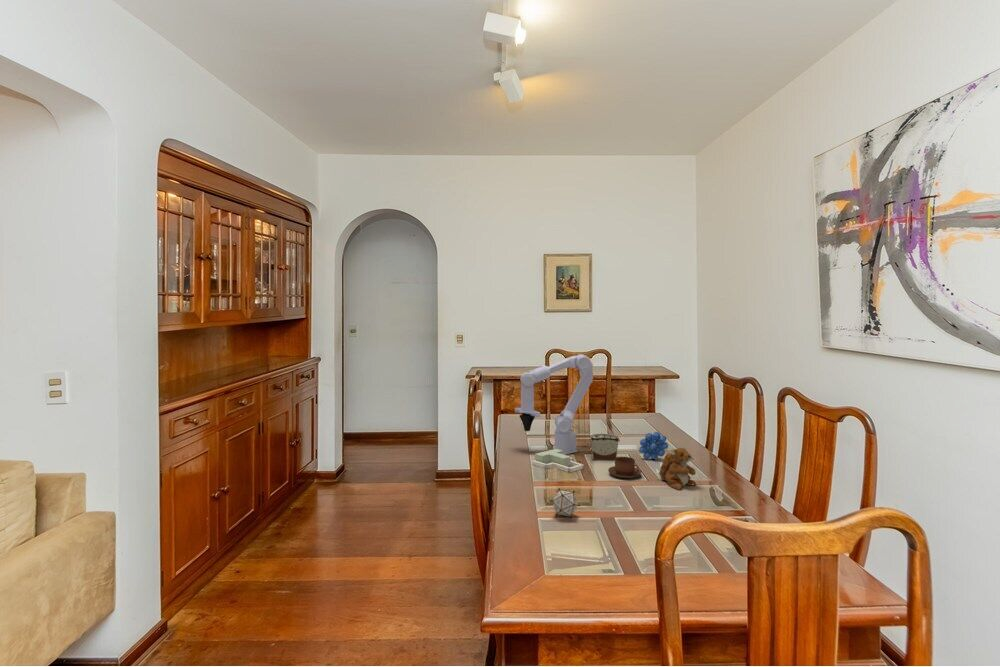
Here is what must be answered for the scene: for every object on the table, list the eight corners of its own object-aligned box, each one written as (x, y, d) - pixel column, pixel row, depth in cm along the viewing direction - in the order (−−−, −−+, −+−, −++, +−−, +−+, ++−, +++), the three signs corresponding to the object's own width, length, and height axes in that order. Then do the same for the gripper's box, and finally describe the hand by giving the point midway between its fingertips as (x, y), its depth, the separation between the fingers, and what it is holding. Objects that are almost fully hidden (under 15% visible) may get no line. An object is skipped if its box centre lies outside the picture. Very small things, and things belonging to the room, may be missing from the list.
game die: (559, 526, 155) (546, 495, 160) (584, 515, 156) (571, 485, 160) (558, 522, 147) (545, 490, 152) (585, 511, 148) (571, 479, 153)
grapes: (668, 458, 214) (668, 430, 214) (667, 463, 208) (668, 433, 208) (639, 456, 219) (640, 428, 218) (638, 460, 212) (638, 431, 212)
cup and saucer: (644, 473, 195) (644, 457, 195) (636, 482, 184) (636, 465, 184) (613, 469, 201) (614, 453, 201) (604, 477, 190) (604, 461, 190)
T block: (556, 458, 216) (556, 448, 215) (577, 464, 206) (577, 454, 206) (535, 463, 208) (535, 453, 208) (556, 470, 199) (556, 460, 199)
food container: (617, 456, 217) (618, 433, 217) (619, 461, 211) (620, 437, 211) (588, 456, 218) (588, 433, 218) (589, 460, 212) (589, 436, 212)
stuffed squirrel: (679, 491, 175) (680, 453, 175) (650, 479, 188) (651, 443, 187) (700, 487, 180) (701, 449, 179) (671, 475, 192) (671, 440, 192)
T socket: (559, 457, 217) (559, 453, 216) (590, 466, 203) (590, 463, 203) (532, 464, 207) (532, 460, 207) (562, 474, 194) (562, 470, 193)
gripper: (509, 398, 227) (509, 429, 228) (531, 403, 216) (531, 435, 217) (521, 397, 232) (521, 427, 232) (543, 401, 221) (543, 432, 221)
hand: (527, 430), depth 225 cm, fingers closed
